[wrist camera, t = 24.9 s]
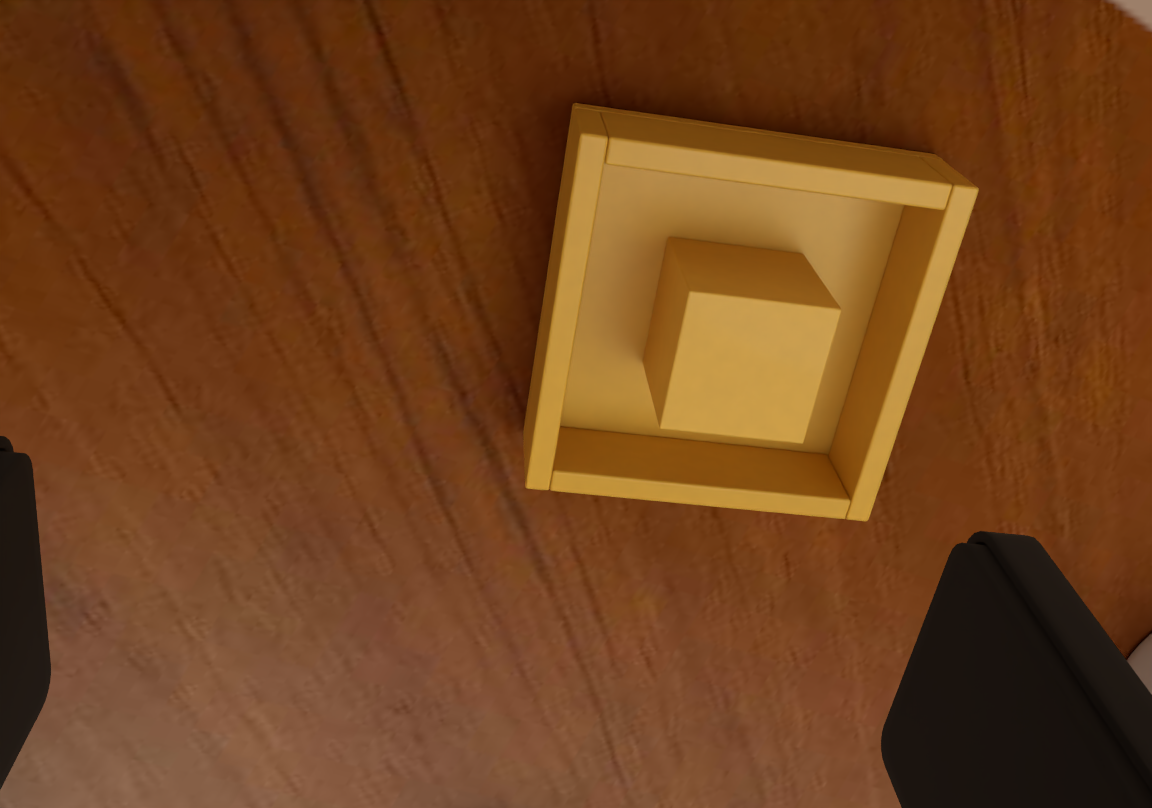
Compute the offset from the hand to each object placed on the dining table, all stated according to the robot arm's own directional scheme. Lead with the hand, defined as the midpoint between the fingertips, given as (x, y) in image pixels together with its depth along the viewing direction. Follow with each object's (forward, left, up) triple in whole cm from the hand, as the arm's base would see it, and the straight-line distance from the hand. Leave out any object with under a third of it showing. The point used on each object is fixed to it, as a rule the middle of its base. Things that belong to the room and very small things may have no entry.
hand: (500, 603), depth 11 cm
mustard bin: (+8, -6, -24) cm, 26 cm away
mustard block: (+8, -6, -24) cm, 26 cm away
